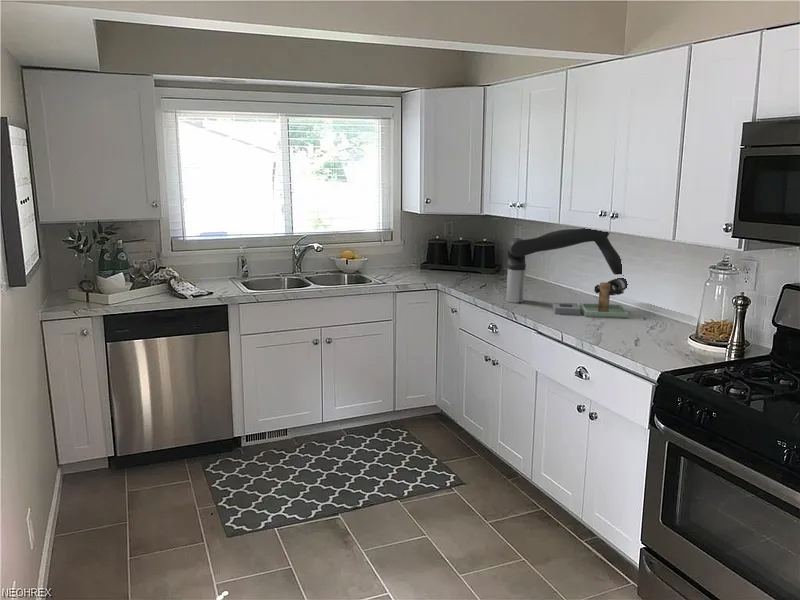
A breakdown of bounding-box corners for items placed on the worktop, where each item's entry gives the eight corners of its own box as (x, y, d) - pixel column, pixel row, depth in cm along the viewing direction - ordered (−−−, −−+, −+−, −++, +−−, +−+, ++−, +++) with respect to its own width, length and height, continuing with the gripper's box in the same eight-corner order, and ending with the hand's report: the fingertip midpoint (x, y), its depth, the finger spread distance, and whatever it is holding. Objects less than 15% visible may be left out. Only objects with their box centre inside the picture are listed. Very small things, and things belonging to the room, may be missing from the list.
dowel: (597, 310, 326) (599, 282, 323) (607, 310, 326) (609, 282, 323) (598, 312, 321) (600, 284, 319) (609, 312, 321) (611, 284, 318)
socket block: (552, 308, 332) (552, 302, 331) (576, 309, 331) (576, 303, 330) (554, 313, 320) (555, 307, 320) (580, 314, 319) (580, 308, 318)
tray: (579, 307, 333) (580, 303, 333) (620, 309, 331) (620, 304, 331) (585, 316, 316) (585, 311, 315) (628, 318, 314) (628, 313, 313)
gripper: (601, 277, 336) (589, 282, 322) (629, 281, 327) (618, 286, 314) (600, 292, 337) (588, 297, 324) (628, 296, 329) (617, 301, 316)
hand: (603, 292), depth 319 cm, fingers open, 6 cm apart
